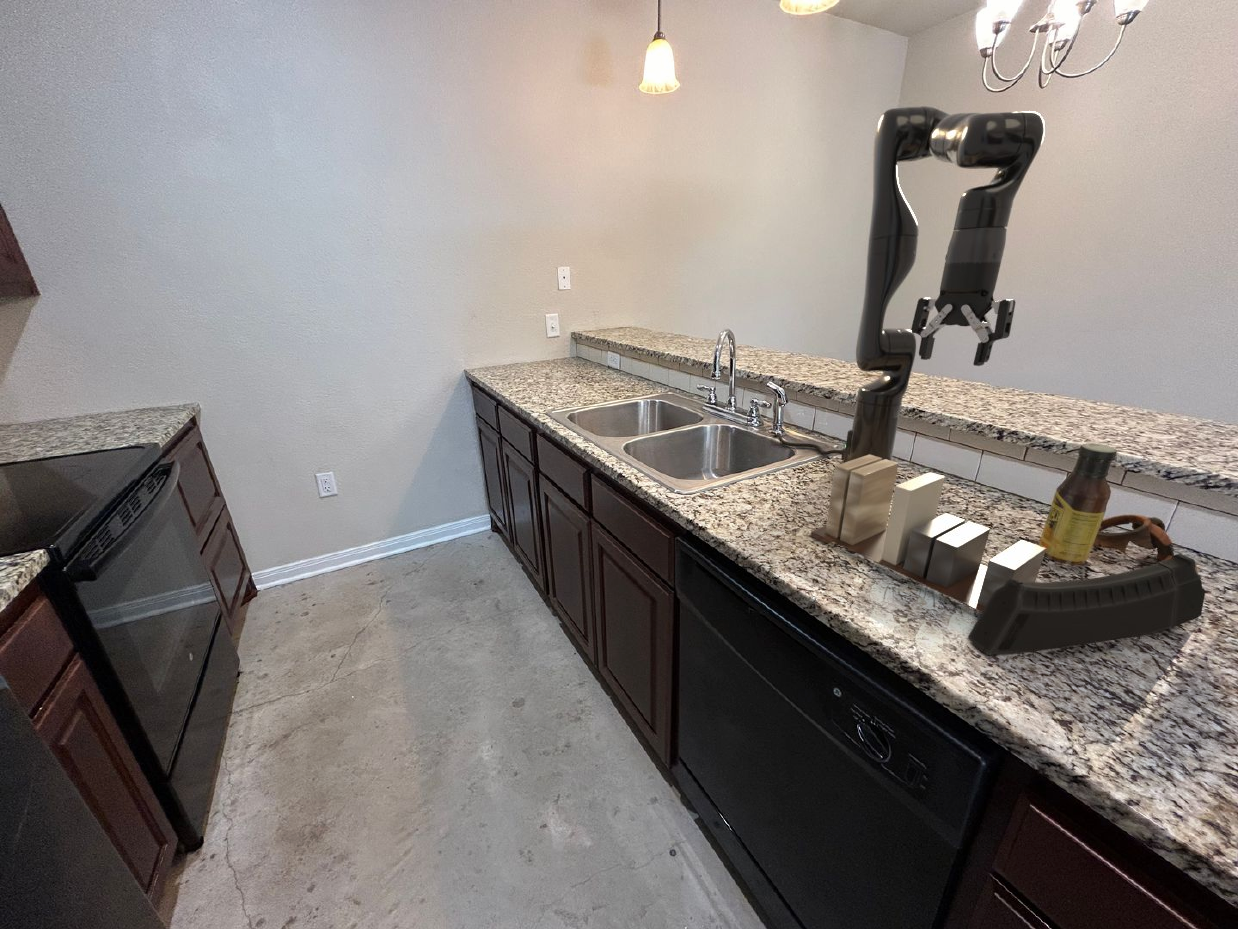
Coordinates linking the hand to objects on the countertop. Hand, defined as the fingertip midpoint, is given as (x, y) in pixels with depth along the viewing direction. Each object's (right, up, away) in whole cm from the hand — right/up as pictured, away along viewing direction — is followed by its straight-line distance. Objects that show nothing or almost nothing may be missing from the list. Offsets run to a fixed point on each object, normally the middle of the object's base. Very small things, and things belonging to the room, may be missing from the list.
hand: (950, 362), depth 85 cm
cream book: (-9, -32, -3) cm, 34 cm away
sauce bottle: (+15, -34, -4) cm, 37 cm away
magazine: (+2, -41, -21) cm, 46 cm away
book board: (-8, -34, -4) cm, 35 cm away
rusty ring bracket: (+28, -33, -3) cm, 43 cm away
